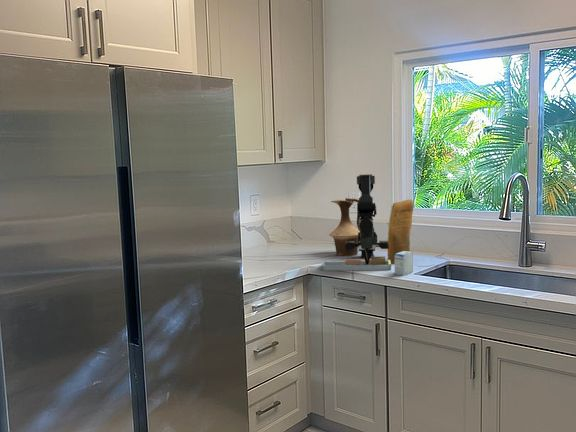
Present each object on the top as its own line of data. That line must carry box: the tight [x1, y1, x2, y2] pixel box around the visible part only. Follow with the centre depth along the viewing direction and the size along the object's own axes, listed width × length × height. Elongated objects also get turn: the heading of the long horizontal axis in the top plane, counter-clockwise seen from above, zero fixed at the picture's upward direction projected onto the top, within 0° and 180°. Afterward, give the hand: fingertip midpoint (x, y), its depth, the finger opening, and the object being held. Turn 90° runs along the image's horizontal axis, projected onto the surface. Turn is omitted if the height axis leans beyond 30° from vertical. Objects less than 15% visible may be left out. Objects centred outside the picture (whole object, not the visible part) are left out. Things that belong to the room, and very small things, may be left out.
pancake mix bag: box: [387, 199, 414, 265], centre depth 262 cm, size 7×19×28 cm, turn 132°
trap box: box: [320, 258, 392, 271], centre depth 255 cm, size 14×30×2 cm, turn 82°
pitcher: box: [328, 197, 361, 257], centre depth 286 cm, size 18×17×28 cm
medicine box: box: [394, 251, 414, 276], centre depth 239 cm, size 8×4×9 cm, turn 141°
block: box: [370, 255, 386, 265], centre depth 252 cm, size 5×6×4 cm
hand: (367, 264), depth 253 cm, fingers closed
